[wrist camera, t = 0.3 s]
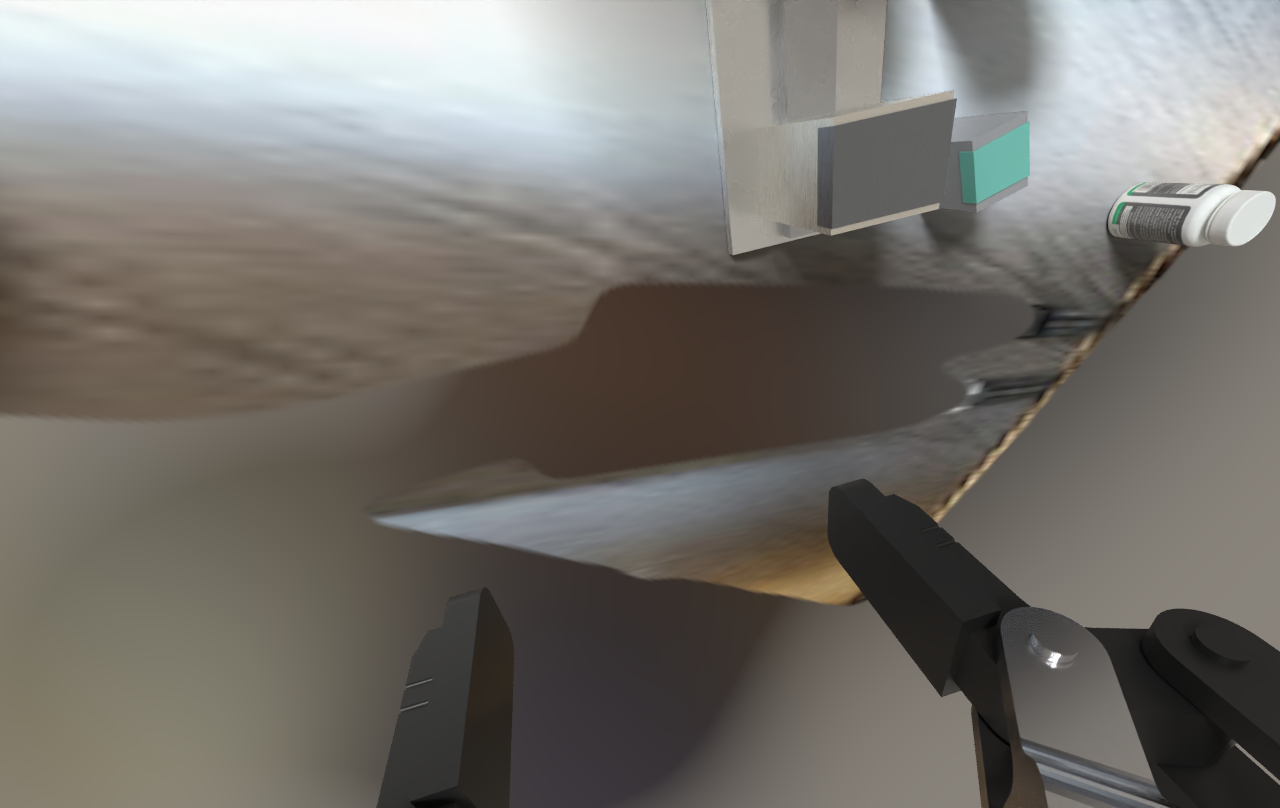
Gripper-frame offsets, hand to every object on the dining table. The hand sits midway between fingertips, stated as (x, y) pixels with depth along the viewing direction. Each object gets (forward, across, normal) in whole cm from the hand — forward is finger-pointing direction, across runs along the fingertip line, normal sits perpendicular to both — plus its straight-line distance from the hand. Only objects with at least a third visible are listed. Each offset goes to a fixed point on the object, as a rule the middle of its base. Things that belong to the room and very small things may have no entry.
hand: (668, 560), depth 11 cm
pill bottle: (+29, -52, +6) cm, 59 cm away
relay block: (+29, -31, -2) cm, 42 cm away
